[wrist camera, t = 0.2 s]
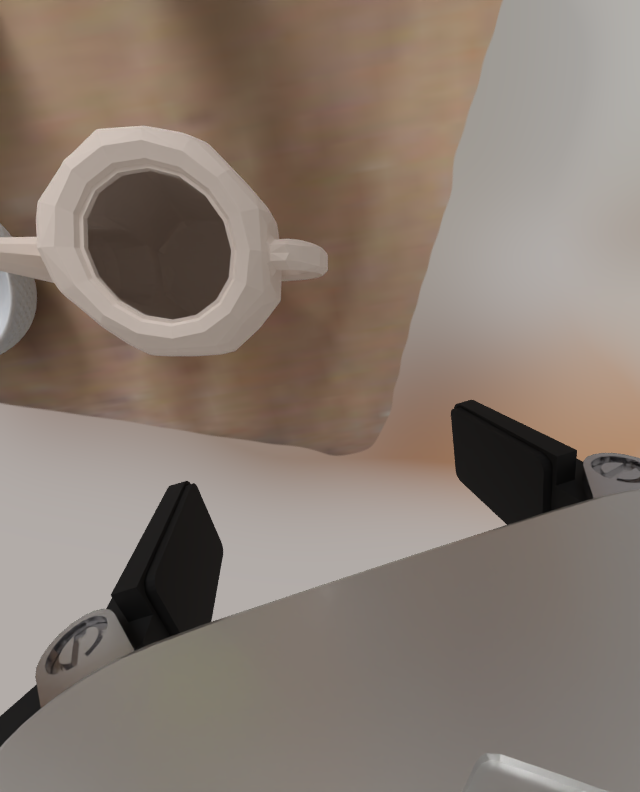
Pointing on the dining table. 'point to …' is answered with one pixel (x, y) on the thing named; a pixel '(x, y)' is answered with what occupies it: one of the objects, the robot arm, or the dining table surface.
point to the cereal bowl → (15, 305)
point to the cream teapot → (161, 243)
